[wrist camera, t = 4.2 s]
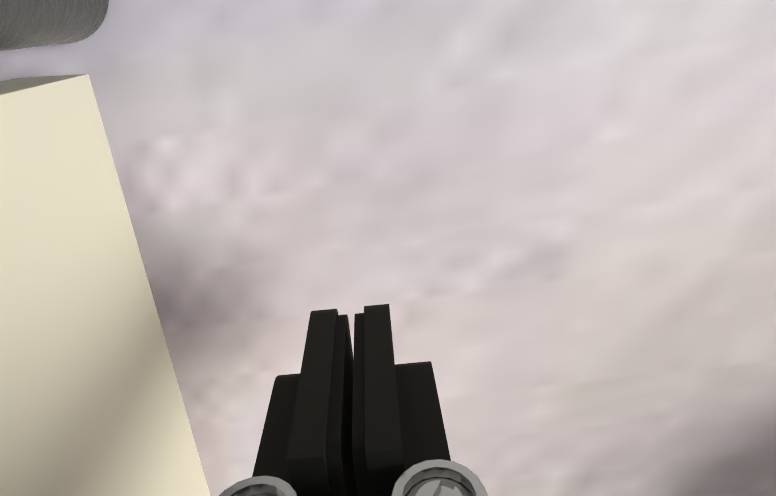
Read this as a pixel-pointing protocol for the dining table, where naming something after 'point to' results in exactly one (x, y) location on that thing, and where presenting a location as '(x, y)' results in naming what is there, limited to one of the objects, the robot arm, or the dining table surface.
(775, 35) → the dining table surface
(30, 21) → the gate frame
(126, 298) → the gate
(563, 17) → the dining table surface
